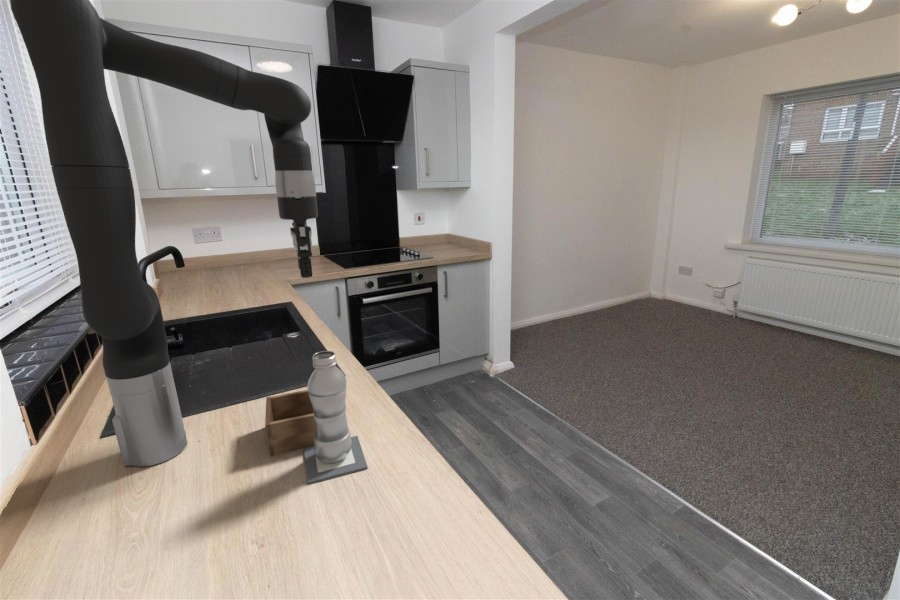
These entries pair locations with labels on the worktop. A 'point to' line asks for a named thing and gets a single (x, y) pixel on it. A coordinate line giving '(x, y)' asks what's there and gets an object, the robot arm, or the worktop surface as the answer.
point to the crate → (289, 422)
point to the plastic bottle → (329, 409)
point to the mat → (330, 470)
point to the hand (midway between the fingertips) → (305, 273)
